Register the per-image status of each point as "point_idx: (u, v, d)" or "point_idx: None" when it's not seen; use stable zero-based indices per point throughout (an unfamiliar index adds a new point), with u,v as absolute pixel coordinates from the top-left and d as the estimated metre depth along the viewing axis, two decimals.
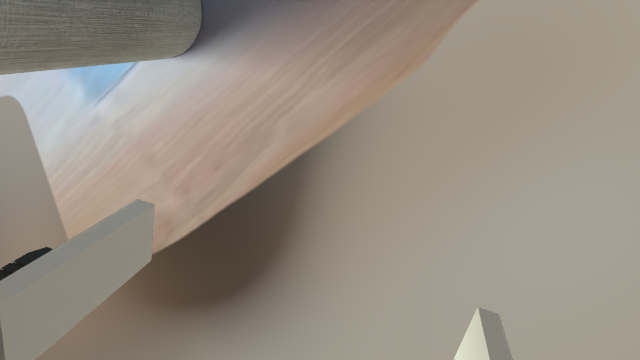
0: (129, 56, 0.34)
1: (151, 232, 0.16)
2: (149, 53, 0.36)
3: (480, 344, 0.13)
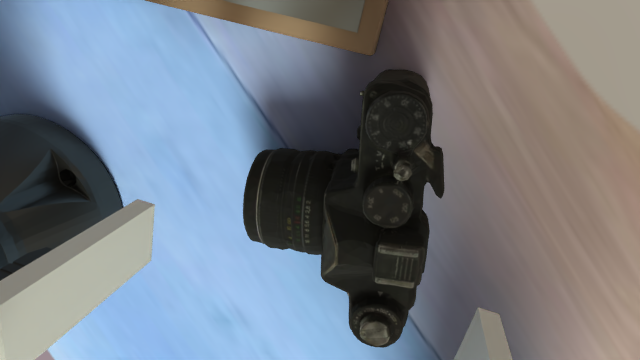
0: None
1: (151, 232, 0.16)
2: None
3: (480, 344, 0.13)
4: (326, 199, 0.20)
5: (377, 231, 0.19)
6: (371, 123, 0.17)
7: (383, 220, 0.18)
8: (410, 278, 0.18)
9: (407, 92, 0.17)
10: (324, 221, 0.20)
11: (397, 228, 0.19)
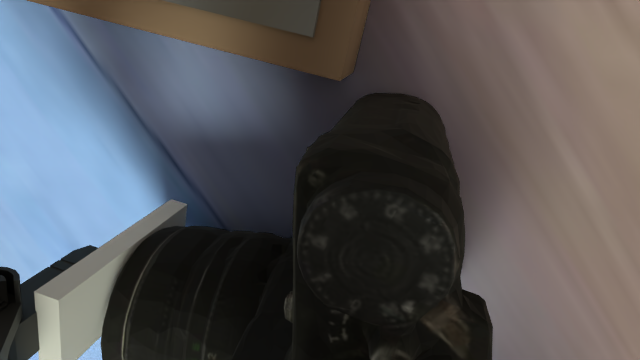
0: None
1: None
2: None
3: None
4: None
5: None
6: (309, 255, 0.07)
7: None
8: None
9: (402, 180, 0.06)
10: None
11: None
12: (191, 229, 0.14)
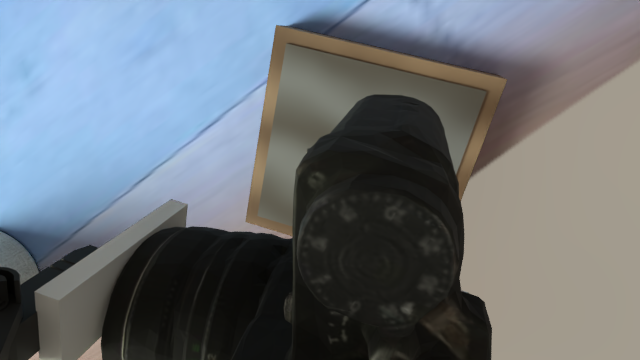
0: None
1: None
2: None
3: None
4: None
5: None
6: (308, 257, 0.07)
7: None
8: None
9: (402, 182, 0.06)
10: None
11: None
12: (191, 230, 0.14)
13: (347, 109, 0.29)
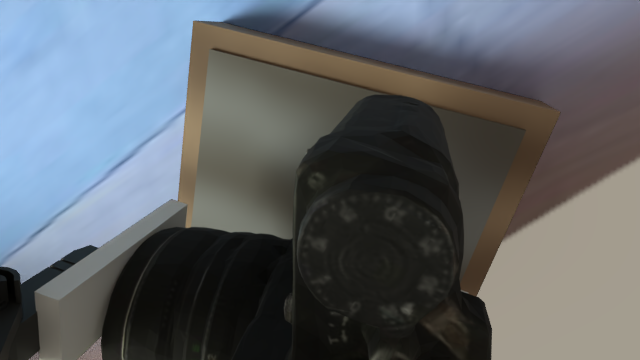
0: None
1: None
2: None
3: None
4: None
5: None
6: (308, 257, 0.07)
7: None
8: None
9: (402, 182, 0.06)
10: None
11: None
12: (191, 230, 0.14)
13: (305, 151, 0.19)
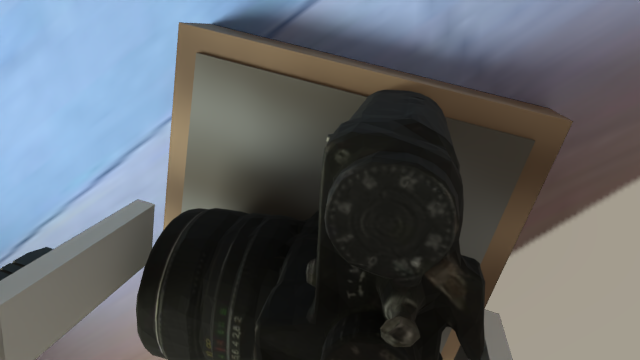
0: None
1: (151, 232, 0.16)
2: None
3: None
4: (257, 337, 0.11)
5: None
6: (335, 219, 0.08)
7: None
8: None
9: (413, 157, 0.08)
10: None
11: None
12: (215, 210, 0.16)
13: (298, 161, 0.17)
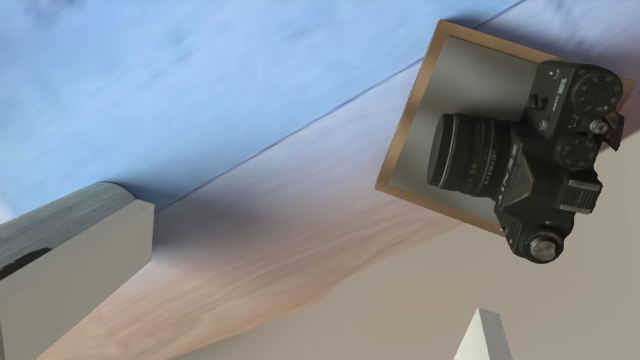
0: None
1: (151, 232, 0.16)
2: None
3: (480, 344, 0.13)
4: (523, 147, 0.27)
5: (561, 173, 0.26)
6: (579, 92, 0.25)
7: (572, 164, 0.26)
8: (588, 206, 0.26)
9: (609, 72, 0.24)
10: (514, 164, 0.28)
11: (577, 171, 0.26)
12: (461, 113, 0.32)
13: (491, 96, 0.34)
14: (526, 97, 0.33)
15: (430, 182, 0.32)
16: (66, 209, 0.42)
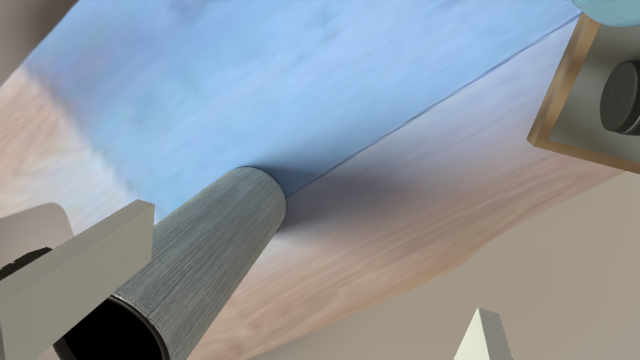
0: None
1: (151, 232, 0.16)
2: None
3: (480, 344, 0.13)
4: None
5: None
6: None
7: None
8: None
9: None
10: None
11: None
12: None
13: None
14: None
15: (619, 127, 0.33)
16: (230, 190, 0.44)
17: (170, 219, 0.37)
